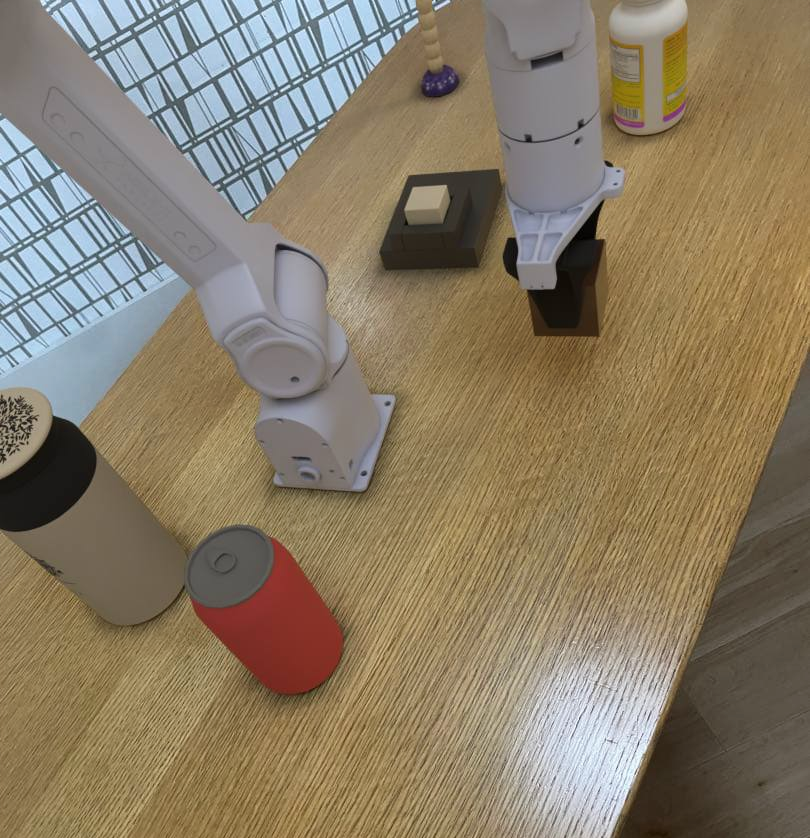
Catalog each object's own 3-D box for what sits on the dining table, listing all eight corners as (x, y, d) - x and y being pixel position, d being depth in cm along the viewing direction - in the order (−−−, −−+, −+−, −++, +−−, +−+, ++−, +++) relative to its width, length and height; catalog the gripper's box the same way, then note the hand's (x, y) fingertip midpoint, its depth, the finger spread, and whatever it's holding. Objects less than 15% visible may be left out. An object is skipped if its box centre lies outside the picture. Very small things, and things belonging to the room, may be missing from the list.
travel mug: (167, 520, 68) (32, 362, 53) (206, 585, 63) (69, 432, 48) (82, 577, 67) (-80, 432, 52) (115, 647, 62) (-53, 510, 47)
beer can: (298, 595, 60) (229, 499, 51) (365, 639, 57) (304, 545, 47) (237, 666, 58) (152, 581, 49) (302, 716, 55) (225, 635, 45)
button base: (478, 268, 75) (470, 230, 72) (384, 271, 78) (372, 235, 75) (502, 188, 80) (495, 150, 77) (413, 194, 83) (403, 157, 80)
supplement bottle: (682, 91, 81) (686, -56, 71) (688, 131, 78) (693, -18, 67) (611, 104, 83) (604, -38, 73) (614, 144, 79) (607, 0, 69)
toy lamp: (470, 76, 92) (438, -99, 79) (449, 101, 91) (412, -73, 77) (433, 73, 94) (396, -97, 81) (412, 98, 93) (370, -72, 79)
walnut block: (599, 337, 57) (595, 285, 54) (534, 336, 59) (525, 286, 55) (608, 291, 59) (605, 238, 56) (545, 291, 61) (538, 240, 57)
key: (442, 225, 74) (438, 208, 72) (408, 226, 75) (403, 210, 73) (450, 201, 75) (446, 184, 74) (417, 203, 76) (412, 186, 75)
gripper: (601, 191, 42) (613, 378, 53) (637, 31, 49) (641, 226, 60) (466, 198, 44) (504, 376, 55) (518, 45, 51) (543, 230, 62)
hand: (569, 298), depth 58 cm, fingers closed on walnut block, 4 cm apart
